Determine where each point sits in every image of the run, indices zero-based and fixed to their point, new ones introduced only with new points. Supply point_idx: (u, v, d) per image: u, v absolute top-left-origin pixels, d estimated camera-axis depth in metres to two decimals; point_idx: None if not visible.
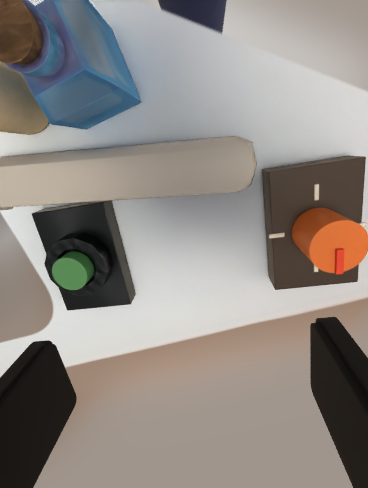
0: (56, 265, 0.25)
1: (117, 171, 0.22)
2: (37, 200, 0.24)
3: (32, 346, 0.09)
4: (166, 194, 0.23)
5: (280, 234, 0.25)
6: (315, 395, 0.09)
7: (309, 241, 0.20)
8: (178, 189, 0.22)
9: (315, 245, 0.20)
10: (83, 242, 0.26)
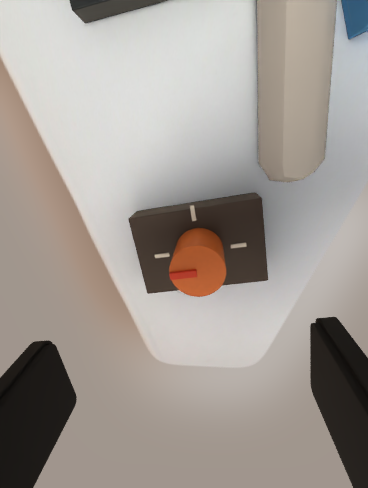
0: None
1: None
2: None
3: (32, 346, 0.09)
4: (288, 67, 0.17)
5: (193, 216, 0.23)
6: (315, 395, 0.09)
7: (202, 245, 0.19)
8: (294, 85, 0.18)
9: (199, 250, 0.19)
10: None
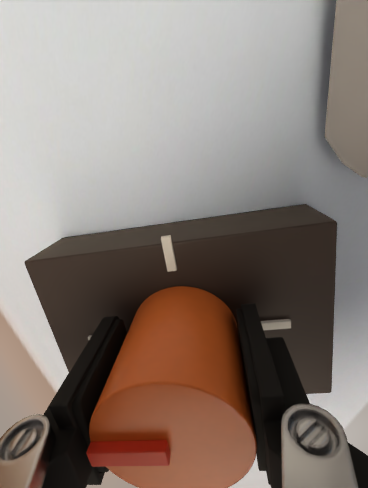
0: None
1: None
2: None
3: (105, 320, 0.10)
4: None
5: (171, 260, 0.10)
6: None
7: (185, 377, 0.06)
8: None
9: (175, 396, 0.06)
10: None
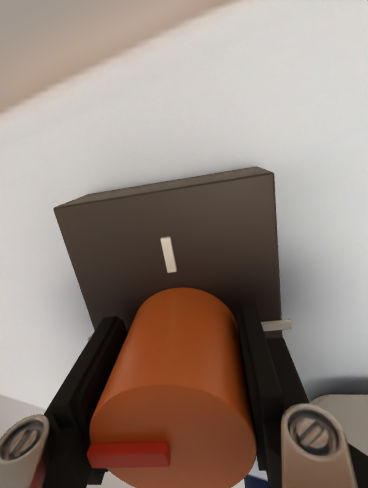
0: None
1: None
2: None
3: (105, 320, 0.10)
4: None
5: (263, 325, 0.11)
6: None
7: (184, 379, 0.06)
8: None
9: (174, 397, 0.06)
10: None
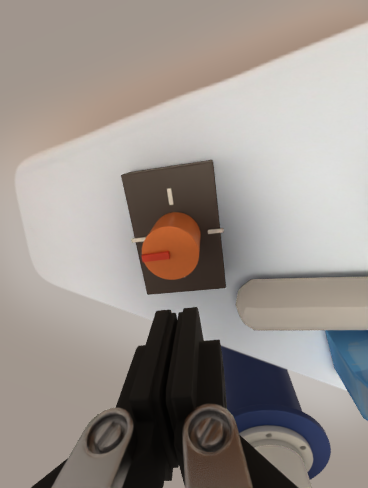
0: None
1: (365, 327, 0.24)
2: None
3: (159, 314, 0.10)
4: (327, 309, 0.23)
5: (211, 231, 0.23)
6: None
7: (174, 226, 0.19)
8: (313, 313, 0.24)
9: (171, 231, 0.19)
10: None
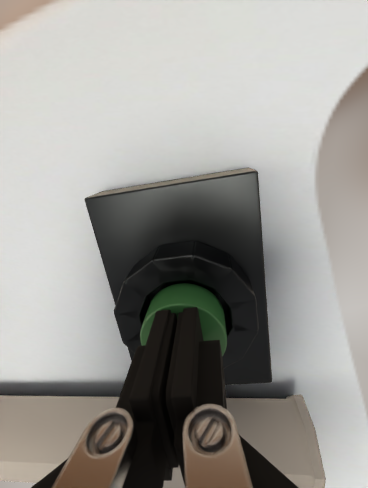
0: None
1: None
2: None
3: (159, 314, 0.10)
4: (22, 464, 0.15)
5: None
6: None
7: None
8: (8, 468, 0.16)
9: None
10: None
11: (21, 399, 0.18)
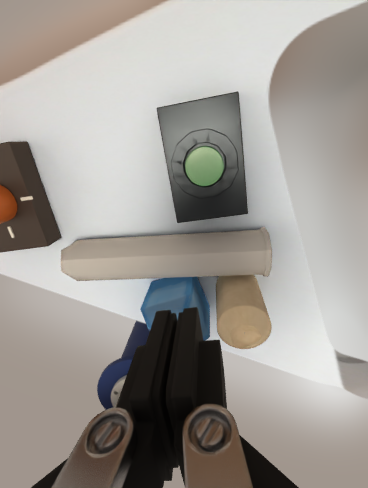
0: (216, 177, 0.24)
1: (153, 274, 0.30)
2: (223, 256, 0.28)
3: (159, 314, 0.10)
4: (116, 259, 0.29)
5: (24, 198, 0.29)
6: None
7: None
8: (108, 263, 0.30)
9: None
10: (191, 194, 0.27)
11: (107, 239, 0.32)
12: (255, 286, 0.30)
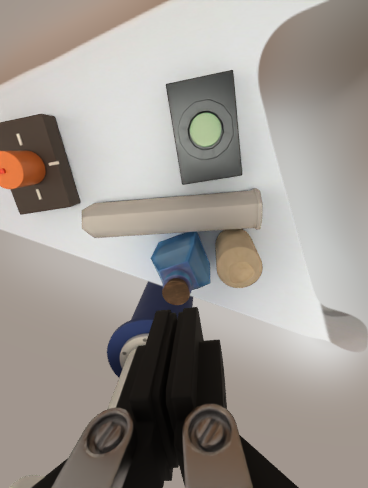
0: (215, 139, 0.30)
1: (161, 228, 0.35)
2: (221, 210, 0.33)
3: (159, 314, 0.10)
4: (130, 214, 0.34)
5: (52, 163, 0.35)
6: None
7: (4, 151, 0.30)
8: (123, 218, 0.35)
9: (2, 154, 0.30)
10: (194, 156, 0.32)
11: (121, 201, 0.37)
12: (249, 239, 0.35)
